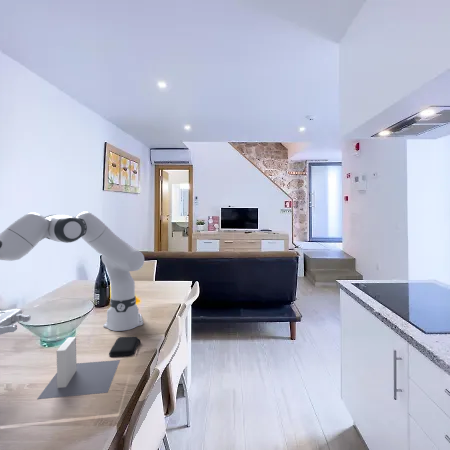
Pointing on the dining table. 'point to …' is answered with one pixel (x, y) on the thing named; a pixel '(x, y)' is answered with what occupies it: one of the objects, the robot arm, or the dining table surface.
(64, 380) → the tile
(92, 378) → the mat
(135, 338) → the carrying case or bag
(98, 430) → the dining table surface
